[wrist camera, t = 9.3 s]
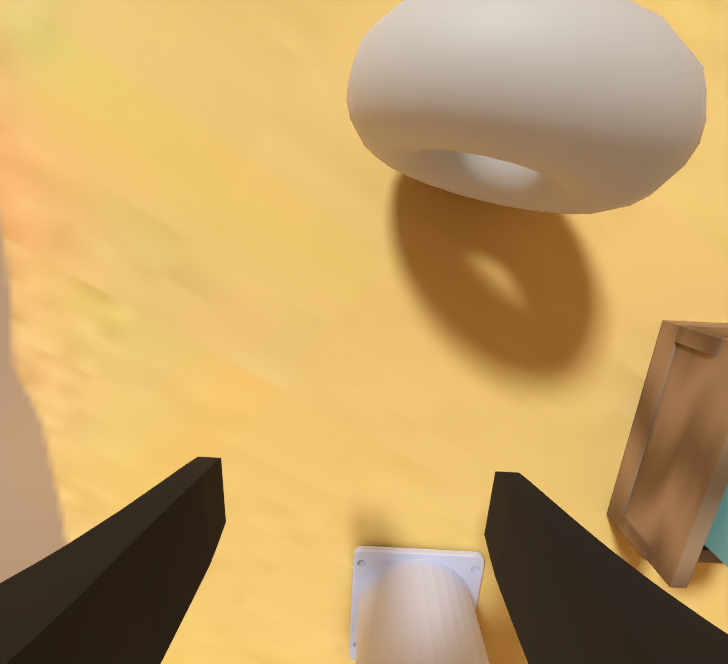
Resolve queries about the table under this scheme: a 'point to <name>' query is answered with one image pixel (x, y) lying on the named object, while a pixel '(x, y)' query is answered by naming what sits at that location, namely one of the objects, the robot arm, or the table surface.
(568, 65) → the grey donut
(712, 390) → the rack
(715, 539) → the teal upright slab
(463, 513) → the table surface
